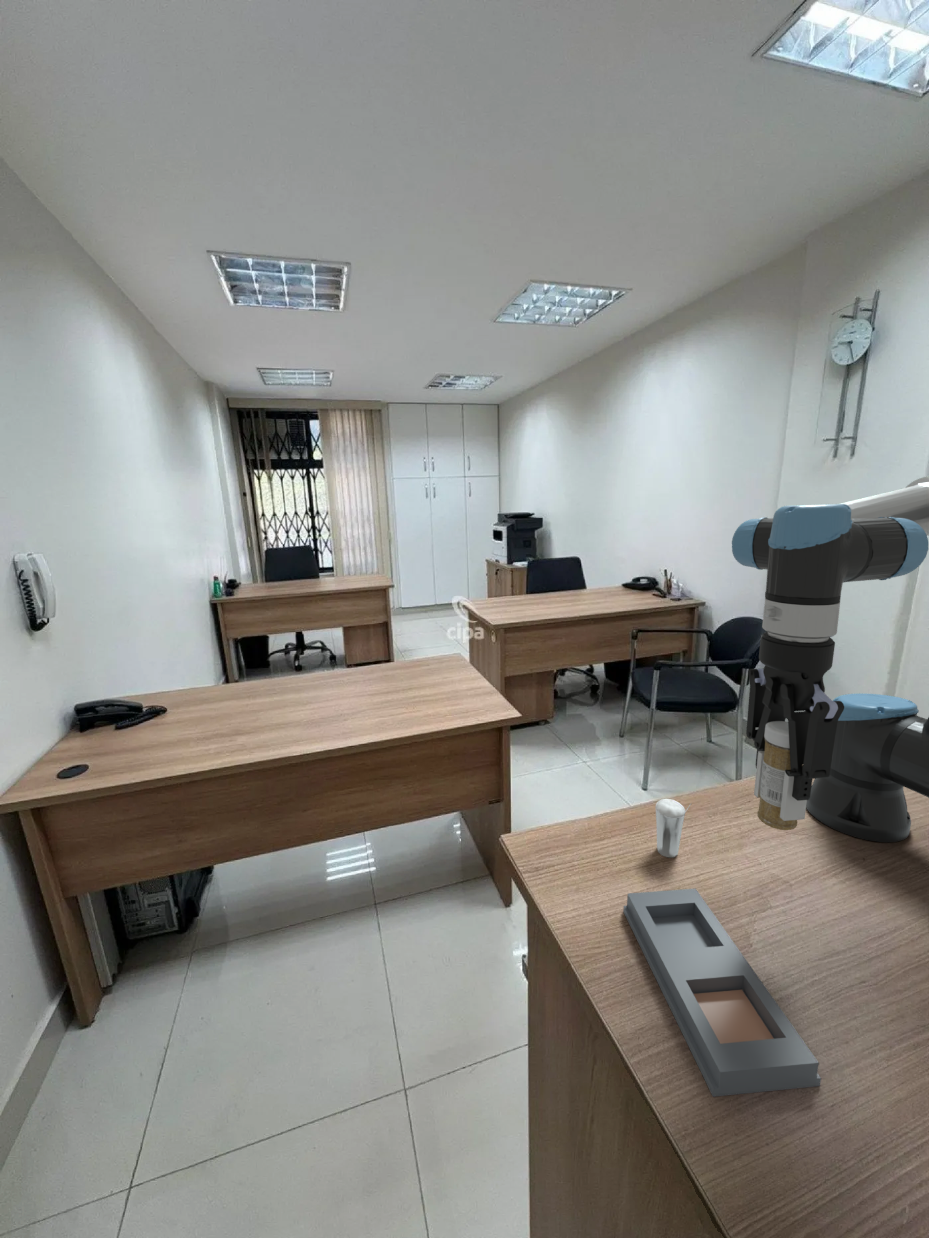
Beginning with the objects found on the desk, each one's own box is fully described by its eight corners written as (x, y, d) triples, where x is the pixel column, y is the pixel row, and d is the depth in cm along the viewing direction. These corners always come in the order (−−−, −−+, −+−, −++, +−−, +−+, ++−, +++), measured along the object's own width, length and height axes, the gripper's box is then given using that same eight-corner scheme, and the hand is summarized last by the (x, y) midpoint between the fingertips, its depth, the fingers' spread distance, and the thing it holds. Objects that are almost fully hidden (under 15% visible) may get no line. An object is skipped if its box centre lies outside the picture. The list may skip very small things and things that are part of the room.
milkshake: (684, 866, 79) (689, 810, 77) (650, 854, 82) (653, 800, 80) (689, 849, 83) (693, 796, 81) (655, 839, 86) (659, 787, 84)
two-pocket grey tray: (697, 906, 71) (698, 888, 71) (819, 1085, 49) (823, 1062, 48) (623, 911, 71) (624, 893, 70) (712, 1096, 48) (715, 1072, 48)
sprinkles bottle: (803, 823, 64) (815, 728, 62) (786, 836, 62) (798, 738, 59) (766, 806, 68) (776, 716, 65) (749, 818, 66) (758, 725, 63)
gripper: (725, 620, 68) (713, 774, 73) (823, 656, 51) (799, 853, 56) (777, 618, 68) (761, 770, 73) (892, 652, 51) (862, 848, 56)
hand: (778, 806), depth 65 cm, fingers closed on sprinkles bottle, 4 cm apart
